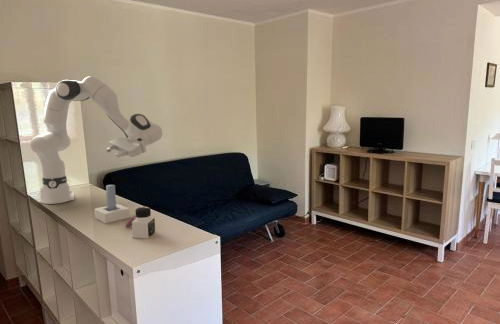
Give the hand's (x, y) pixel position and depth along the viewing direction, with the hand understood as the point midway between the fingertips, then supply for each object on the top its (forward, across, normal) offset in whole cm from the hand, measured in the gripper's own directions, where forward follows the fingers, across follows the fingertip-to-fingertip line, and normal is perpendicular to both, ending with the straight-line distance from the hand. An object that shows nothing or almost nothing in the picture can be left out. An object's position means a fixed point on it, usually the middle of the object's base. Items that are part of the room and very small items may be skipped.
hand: (111, 153), depth 171 cm
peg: (+14, +11, +26) cm, 32 cm away
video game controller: (+15, +34, +22) cm, 43 cm away
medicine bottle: (+17, +43, +19) cm, 50 cm away
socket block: (+14, +11, +26) cm, 32 cm away
